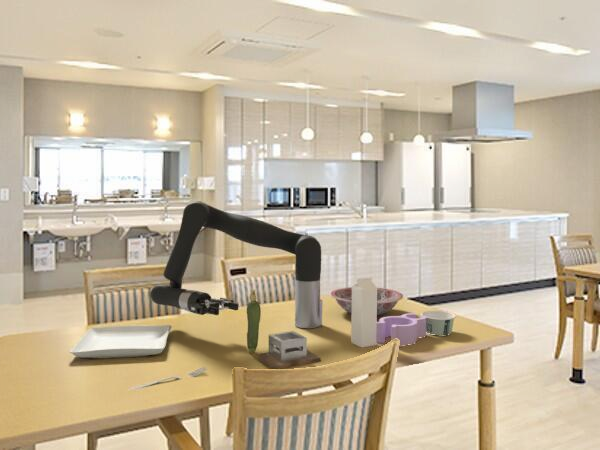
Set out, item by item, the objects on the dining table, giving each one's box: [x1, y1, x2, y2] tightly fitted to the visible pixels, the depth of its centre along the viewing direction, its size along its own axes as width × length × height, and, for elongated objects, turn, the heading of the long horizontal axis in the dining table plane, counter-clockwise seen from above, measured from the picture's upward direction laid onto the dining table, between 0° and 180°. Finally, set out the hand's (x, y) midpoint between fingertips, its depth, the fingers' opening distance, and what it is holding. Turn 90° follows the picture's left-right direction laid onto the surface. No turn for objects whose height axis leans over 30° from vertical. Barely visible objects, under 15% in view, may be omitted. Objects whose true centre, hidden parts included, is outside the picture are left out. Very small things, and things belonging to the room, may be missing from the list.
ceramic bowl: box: [330, 286, 404, 316], centre depth 211 cm, size 29×29×8 cm
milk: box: [350, 276, 378, 348], centre depth 170 cm, size 6×6×22 cm
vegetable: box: [246, 289, 262, 354], centre depth 162 cm, size 4×4×20 cm
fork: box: [128, 366, 208, 391], centre depth 138 cm, size 3×24×2 cm, turn 125°
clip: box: [376, 312, 427, 345], centre depth 177 cm, size 20×12×7 cm, turn 132°
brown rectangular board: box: [254, 346, 322, 370], centre depth 156 cm, size 16×12×1 cm
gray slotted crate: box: [268, 330, 308, 363], centre depth 156 cm, size 8×8×6 cm
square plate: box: [69, 324, 173, 359], centre depth 168 cm, size 27×27×4 cm
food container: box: [420, 310, 457, 335], centre depth 185 cm, size 12×12×6 cm
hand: (228, 309), depth 169 cm, fingers open, 8 cm apart
